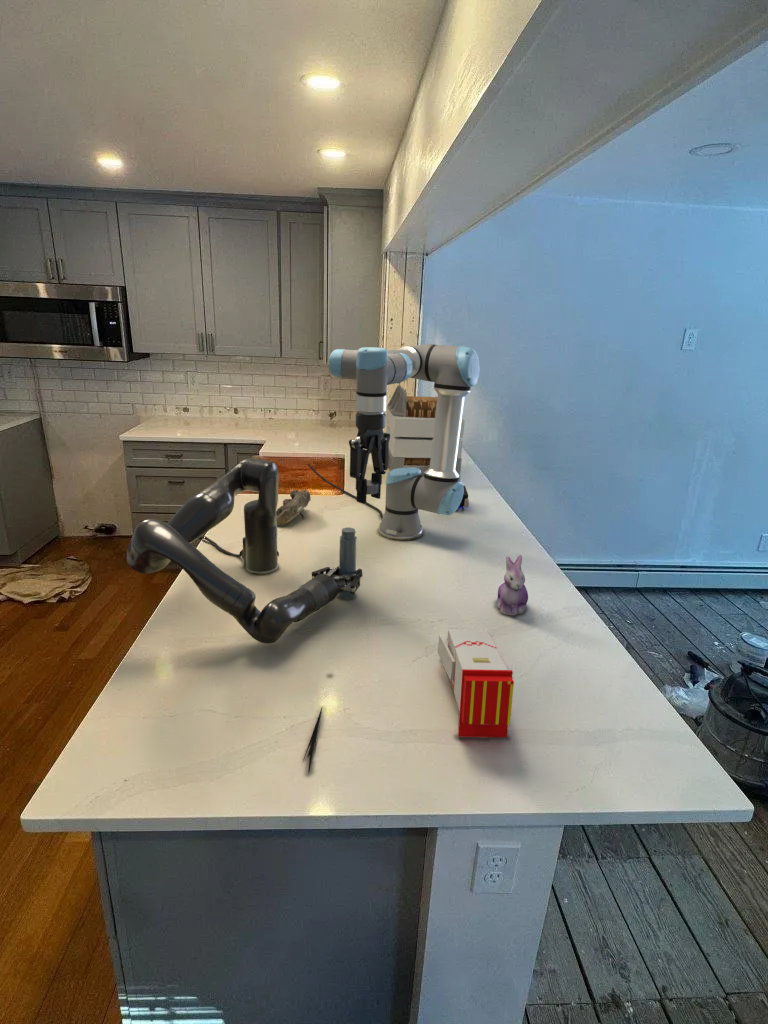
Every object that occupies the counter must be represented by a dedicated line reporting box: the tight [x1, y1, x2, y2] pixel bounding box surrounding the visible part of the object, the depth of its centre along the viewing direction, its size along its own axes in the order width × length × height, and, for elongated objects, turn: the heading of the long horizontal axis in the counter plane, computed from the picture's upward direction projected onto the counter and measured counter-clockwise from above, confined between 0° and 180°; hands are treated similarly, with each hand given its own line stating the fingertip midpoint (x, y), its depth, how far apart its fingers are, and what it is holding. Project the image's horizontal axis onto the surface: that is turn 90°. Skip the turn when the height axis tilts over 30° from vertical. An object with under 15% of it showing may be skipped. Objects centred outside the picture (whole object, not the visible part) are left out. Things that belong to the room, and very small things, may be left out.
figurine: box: [496, 554, 529, 616], centre depth 150 cm, size 9×10×15 cm
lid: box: [367, 479, 379, 496], centre depth 148 cm, size 5×5×2 cm
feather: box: [301, 673, 332, 771], centre depth 108 cm, size 2×28×2 cm
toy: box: [437, 628, 515, 738], centre depth 117 cm, size 12×13×30 cm
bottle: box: [338, 527, 358, 600], centre depth 152 cm, size 4×4×19 cm
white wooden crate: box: [385, 384, 465, 482], centre depth 268 cm, size 34×33×41 cm
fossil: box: [277, 489, 311, 526], centre depth 209 cm, size 22×10×15 cm
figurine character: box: [455, 485, 470, 512], centre depth 229 cm, size 7×8×15 cm
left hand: (352, 569), depth 156 cm, fingers closed on bottle, 4 cm apart
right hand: (368, 499), depth 150 cm, fingers closed on lid, 5 cm apart
